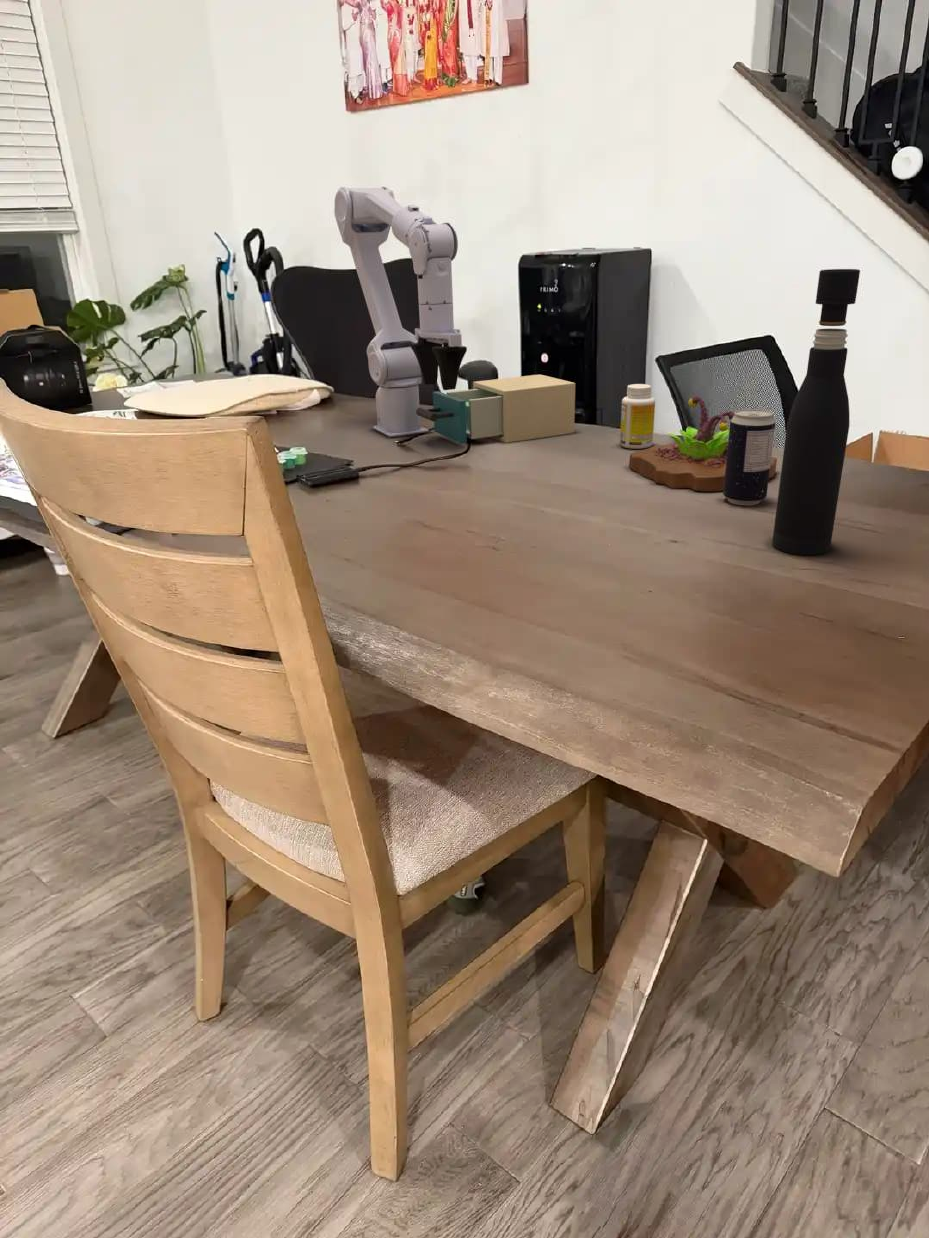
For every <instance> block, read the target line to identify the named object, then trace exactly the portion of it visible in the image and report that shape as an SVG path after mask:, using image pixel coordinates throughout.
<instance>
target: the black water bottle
mask: <svg viewBox="0 0 929 1238" xmlns="http://www.w3.org/2000/svg"><path fill="white" fill-rule="evenodd" d="M818 273H819V274H818V282H817V289H816V297H815V298H816V299H815V304H816V305H821V312H820V317H819V318H820V319H819V320H818V324H819V325H820V326H822V327H841V326H845V325H846V324H847V315H848V306H849V305H854V304H856V302H857V301H856V300H857V294H858V288H859V280H860V274H861V270H860V269H857V268H831V269H828V268H827V269H820V271H819V272H818ZM847 331H848V329H846V328H817V329H816V330H815V333H814V334H813V337H814V340H812V344H813V346H812V347H811V348H810V349H809V353H808V362H807V368H806V375H805V376H804V379H803V381H802V383H801V385H800V387H799V389H798V391H797V393H796V395H795V398H794V401H793V403H792V406H791V409H790V412H789V416H788V419H787V423H786V430H785V439H784V447H783V455H782V461H781V462H782V463H781V471H780V479H779V486H778V495H777V501H776V509H775V516H774V517H775V518H774V527H773V533H772V541H771V545H772V546H773V548H775V549H776V550H778V551H780V552H783V553H786V554H791V555H797V556H819V555H823V554H826V553H828V552H829V551H830V550H831V545H832V539H833V534H834V533H833V532H834V526H835V520H836V513H837V507H838V501H839V495H840V488H841V483H842V482H841V481H842V475H843V469H844V462H845V457H846V450H847V443H848V438H849V437H848V436H849V432H850V431H849V430H850V400H849V394H848V390H847V383H846V378H845V372H846V371H845V369H846V363H847V357H848V351H849V350H848V348H847V347H845V345H846V344H847V340H846V339H847V338H848V336H849V334H847Z"/></svg>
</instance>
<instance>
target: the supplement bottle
mask: <svg viewBox="0 0 929 1238" xmlns="http://www.w3.org/2000/svg"><path fill="white" fill-rule="evenodd" d="M651 395H652V385H650V384H646V383H633V384H628V385H627V387H626V396H624V397H623V398H622V399H621V412H620V414H621V415H620V438H619V440H620V441H619V444H620V446H621V447H623V448H625V449H629V450H645V449H649V448H650V447H652V446H653V443H654V442H653V441H654V426H655V412H656V411H655V409H656V399H655V398H654V397H653V396H651Z"/></svg>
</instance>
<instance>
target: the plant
mask: <svg viewBox="0 0 929 1238" xmlns="http://www.w3.org/2000/svg"><path fill="white" fill-rule="evenodd" d="M687 403H688V406H689V407H690V408H696V407H697V406H698V404H699V407H700V417H699V418H700V422H699V428H698V429H697V428H695V427H692V426H688V427H687V428H686V429H685V430H683V429H679V433H680V435H681V436H682V438H683V439H684V441H683V440H682V438H680V437H679V436H678V435H676V434H673V433H668V435H669V436H670V437H671V439H673V440H674V441H675V442H674V443H666V444H660V445H652V446H650V447H648V448H644V449H639V450H637V451H635V452H631V453H630V454H629V461H628V467H629V468H630V469H631V471H633V472H636V473H638V474H640V475H641V476H643V477H644V478H647V479H649V480H653V481H655V484H658V485H659V484H660V485H665V486H667V487H669V488H671V489H692V490H693V491H695V492H723V490H724V480H725V470H726V460H727V449H728V440H727V439H728V438H729V429H730V428H729V424H728V421H727V419H726V418H725V417H728V420H729V421H731V420H732V418H733V417H734V415H735V414H734V412H735V411H731V410H730V411H724V412H720V413H719V414H715V415H713V416H712V417H710V419H709V417H708V416H709V414H708V409H707V407H706V403H705V401H704V400H703V398H702V397H699V396H697V395H696V396H692V397H691V398H690V399H689V400H688V402H687ZM718 424H719V425H718ZM717 425H718V429H719V431H718V432H716V433H715V431H716V427H717ZM777 462H778V458H777V457H773V456H771V464H770V472H769V479H771V478H773V477H774V475H775V473H776V470H777Z"/></svg>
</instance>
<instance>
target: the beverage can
mask: <svg viewBox="0 0 929 1238" xmlns="http://www.w3.org/2000/svg"><path fill="white" fill-rule="evenodd" d="M733 412H734V414H735V415H734V417H733V418H732V420H731V421H730V420H729V421H730V422H729V428H728V429H729V435H728V438H727V439H728V440H727V441H728V449H727V460H726V470H725V480H724V490H723V491H722V494H723V496H724V497H725V499H727V501H728V502H729V503H730V504H733V505H738V506H756V505H758V504H760V503H761V502H762V501H763V500H765V498H767V495H768V487H769V480H770V478H769V472H770V464H771V457H773V456H772V454H773V446H774V440H775V439H774V438H775V431H776V421H775V418H774V412H773V411H771V410H766V409H757V408H745V409H744V408H743V409H738V410H735V411H733Z"/></svg>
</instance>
